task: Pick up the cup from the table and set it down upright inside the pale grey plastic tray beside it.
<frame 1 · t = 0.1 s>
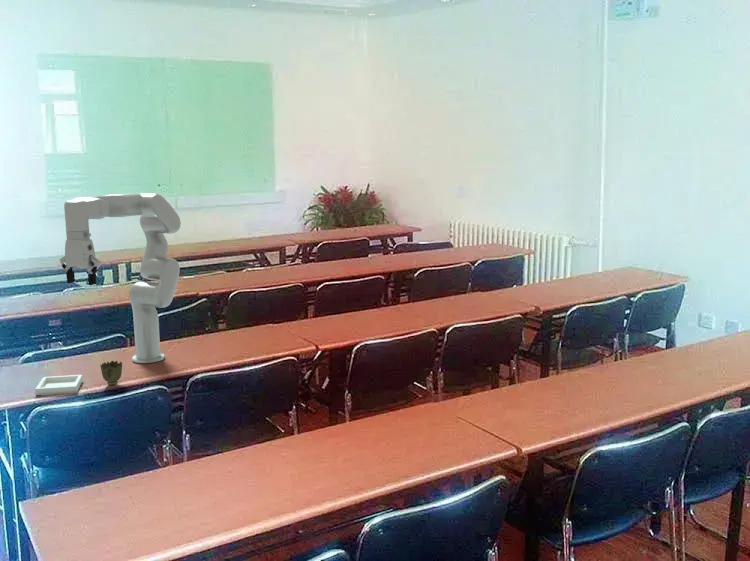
hand: (81, 283, 267), 37 cm above the table, tool pointing down, fingers open, 9 cm apart
cup: (112, 385, 273), on the table
tray: (59, 388, 270), on the table
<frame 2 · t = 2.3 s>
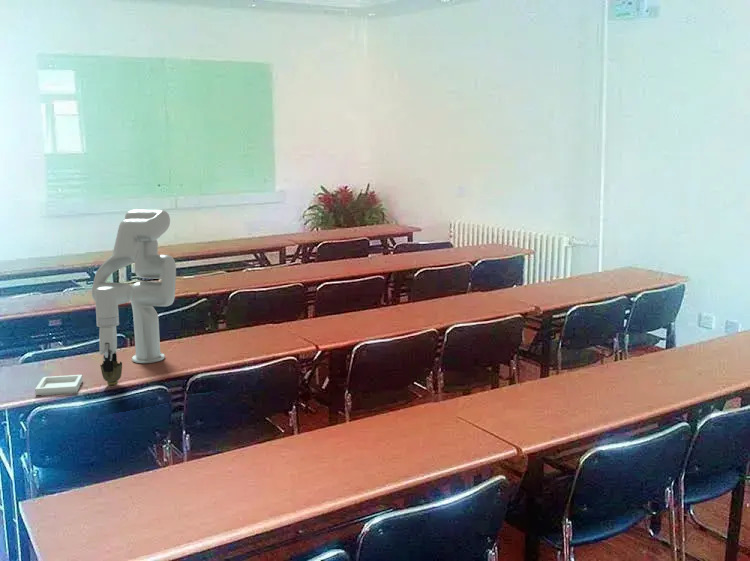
hand: (110, 367, 271), 7 cm above the table, tool pointing down, fingers open, 9 cm apart
nothing on the table moved.
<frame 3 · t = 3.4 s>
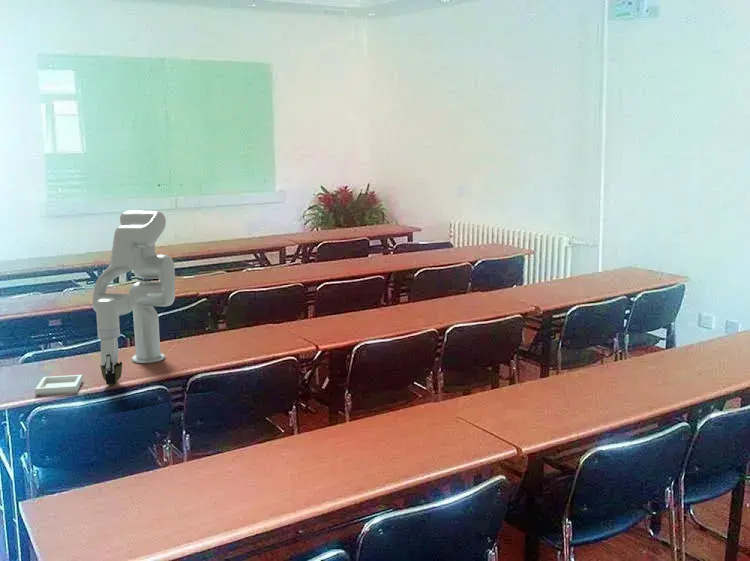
hand: (112, 380, 273), 2 cm above the table, tool pointing down, fingers closed on cup, 6 cm apart
cup: (112, 385, 273), on the table, touching gripper
when the fingers open (4 cm above the table, at t = 9.8 s): cup drops 1 cm, resting on tray.
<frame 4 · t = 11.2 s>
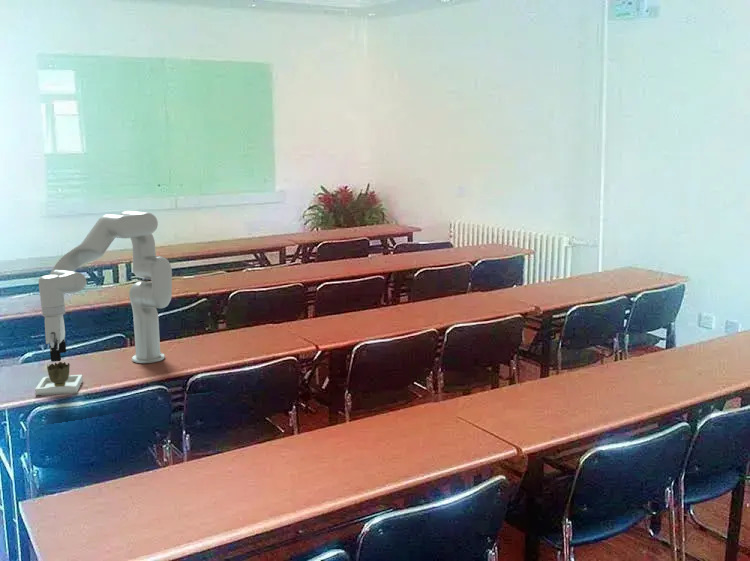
hand: (58, 356, 268), 12 cm above the table, tool pointing down, fingers open, 9 cm apart
cup: (60, 386, 269), point 1 cm above the table, touching tray
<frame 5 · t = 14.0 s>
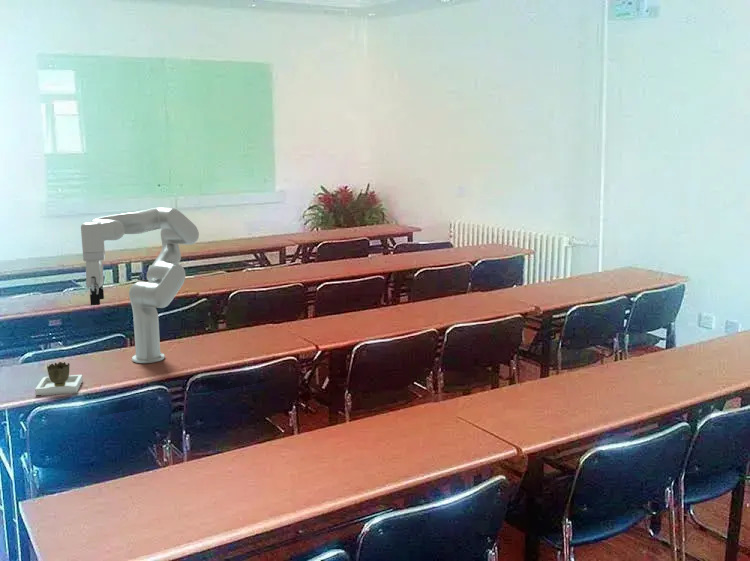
hand: (97, 302, 278), 28 cm above the table, tool pointing down, fingers open, 9 cm apart
nothing on the table moved.
at the end: cup 0.4 cm off-centre on the tray, point 0.6 cm above the tray's base; cup tilted 0°; the gripper is holding nothing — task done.
